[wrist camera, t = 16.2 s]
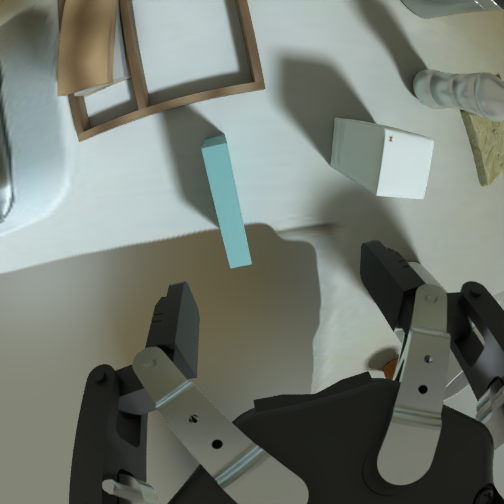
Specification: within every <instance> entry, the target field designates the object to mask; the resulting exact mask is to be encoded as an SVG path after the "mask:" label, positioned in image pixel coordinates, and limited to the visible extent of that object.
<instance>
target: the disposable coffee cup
mask: <svg viewBox="0 0 504 504" xmlns="http://www.w3.org/2000/svg"><path fill="white" fill-rule="evenodd" d="M397 362H398V359H395V360H392V361H391V362H389V363H388V364H387V365H386V366H385V367H384V369H383V371H384V374H385V377H386V379H390V380H392V379H393V376H394V373H395V370H396V366H397Z"/></svg>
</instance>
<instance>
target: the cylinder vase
mask: <svg viewBox="0 0 504 504" xmlns="http://www.w3.org/2000/svg"><path fill="white" fill-rule="evenodd" d="M407 263H408V264H409V266H411V267H412V268H413V269H414V270H415V271H416V273H417V274H418V275H419V276H420V277H421V278H422V279H423V281H424V282H425V283H426V284H434V285H437V286H439V287H440V288H442V289H443V290H444V291H445V293H448V292H447V291H446V290H445V289H444V288H443V287H442V286H441V285H440V284H439V283H438V282H437V281H436V280H435V278H434V277H433V276H432V275H431V274H430V273H429V272H428V271H427V270H426V269H425V268H424V267H423V266H422V265H421V264H419V263H417V262H407ZM474 332H475V333H476V335H477V336H478V338H479V339H480V341H481V342H482V344H483V346H484V347H485V341H484V338H483V337H482V335H481V334H480V332H479V331H478V329H477V328H476V327H475V329H474ZM395 333H396V335H397V336H398V338H399V340H400V341H401V343H402V341H403V337H404V334H405V333H404V331H403V329H402V330H399V331H396V332H395ZM468 385H469V382H468V380H467V378H466V376H465V374H464V372H463V370H462V369H461V367H460V365H459V363H458V361H457V359H456V358H455V356H454V354H453V352H452V351H451V349H450V355H449V365H448V374H447V382H446V389H445V395H444V401H446V400H448V399H449V398H451V397H453V396H454V395H456V394H457V393H459V392H460V391H462V390H463V389H464V388H465V387H467V386H468Z"/></svg>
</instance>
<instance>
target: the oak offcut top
mask: <svg viewBox="0 0 504 504" xmlns="http://www.w3.org/2000/svg"><path fill="white" fill-rule="evenodd" d="M118 1H119V0H66V1H65V6H64V12H63V18H62V25H61V33H60V43H59V55H58V96H66V95H69V94H73V93H76V92H79V91H83V90H87V89H90V88H94V87H98V86H103V85H107V84H111V83H113V66H114V42H115V28H116V18H117V9H118Z"/></svg>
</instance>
